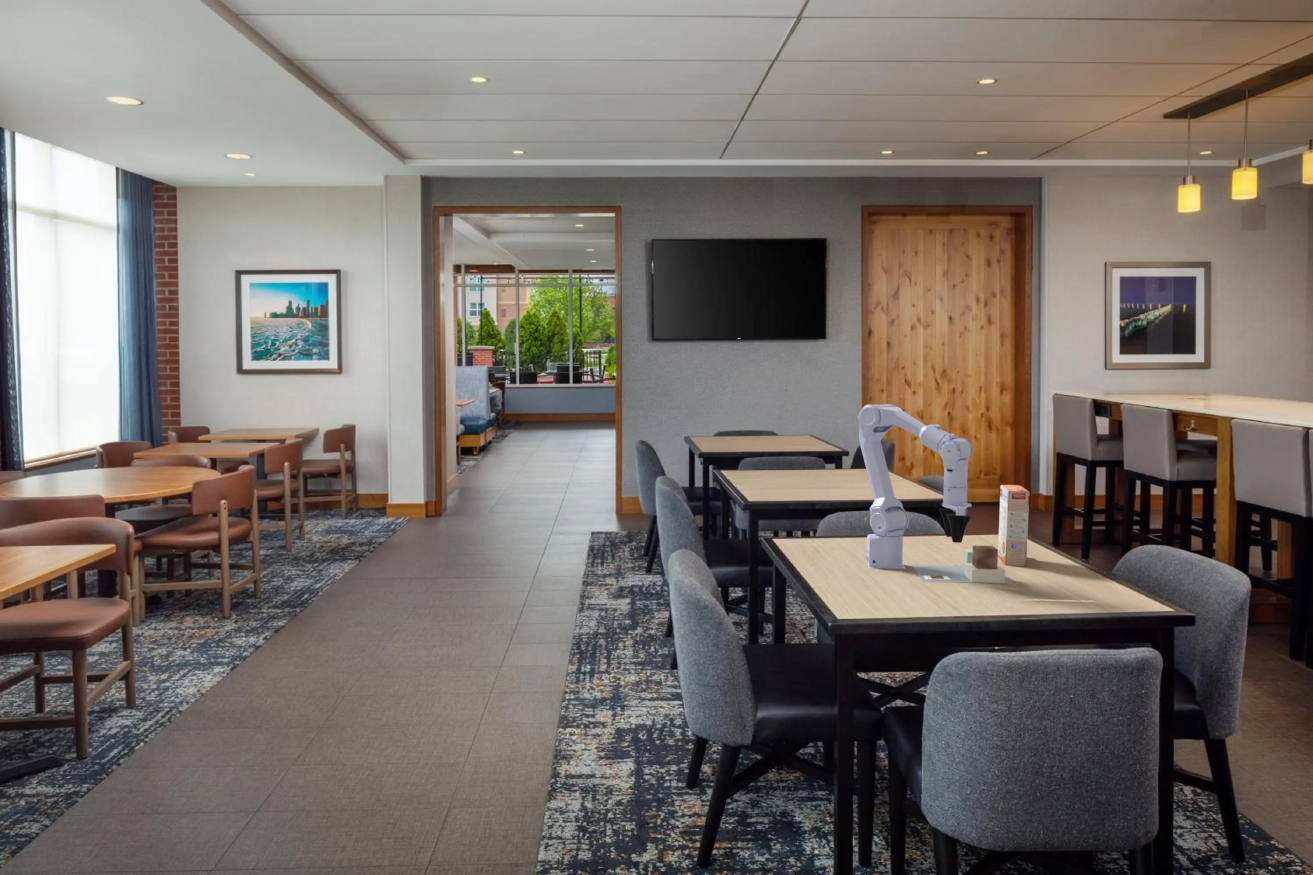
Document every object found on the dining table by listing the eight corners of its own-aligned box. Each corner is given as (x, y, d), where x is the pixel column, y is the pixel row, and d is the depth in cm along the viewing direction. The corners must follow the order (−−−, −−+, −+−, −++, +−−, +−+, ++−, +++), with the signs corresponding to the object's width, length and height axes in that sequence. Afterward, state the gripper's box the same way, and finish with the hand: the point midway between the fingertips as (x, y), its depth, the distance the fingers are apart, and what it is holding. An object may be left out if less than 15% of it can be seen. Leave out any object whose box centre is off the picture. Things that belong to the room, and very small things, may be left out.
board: (923, 583, 246) (923, 579, 246) (910, 566, 266) (910, 563, 266) (1013, 585, 244) (1014, 581, 244) (994, 568, 263) (994, 565, 263)
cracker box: (1027, 568, 264) (1030, 490, 263) (1004, 567, 266) (1006, 490, 264) (1019, 557, 278) (1021, 484, 276) (997, 556, 279) (999, 483, 278)
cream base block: (971, 581, 246) (972, 569, 245) (964, 574, 253) (965, 563, 253) (1004, 582, 245) (1005, 570, 245) (996, 575, 253) (997, 563, 252)
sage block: (967, 571, 258) (967, 552, 257) (962, 567, 263) (963, 548, 262) (986, 571, 257) (987, 552, 257) (982, 567, 262) (982, 549, 262)
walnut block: (976, 568, 247) (977, 549, 246) (972, 564, 252) (972, 545, 251) (997, 569, 246) (997, 549, 246) (992, 565, 251) (992, 545, 251)
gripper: (978, 490, 240) (976, 545, 242) (965, 482, 255) (963, 534, 256) (948, 489, 241) (947, 544, 242) (937, 482, 256) (936, 534, 257)
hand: (953, 539), depth 249 cm, fingers open, 7 cm apart
